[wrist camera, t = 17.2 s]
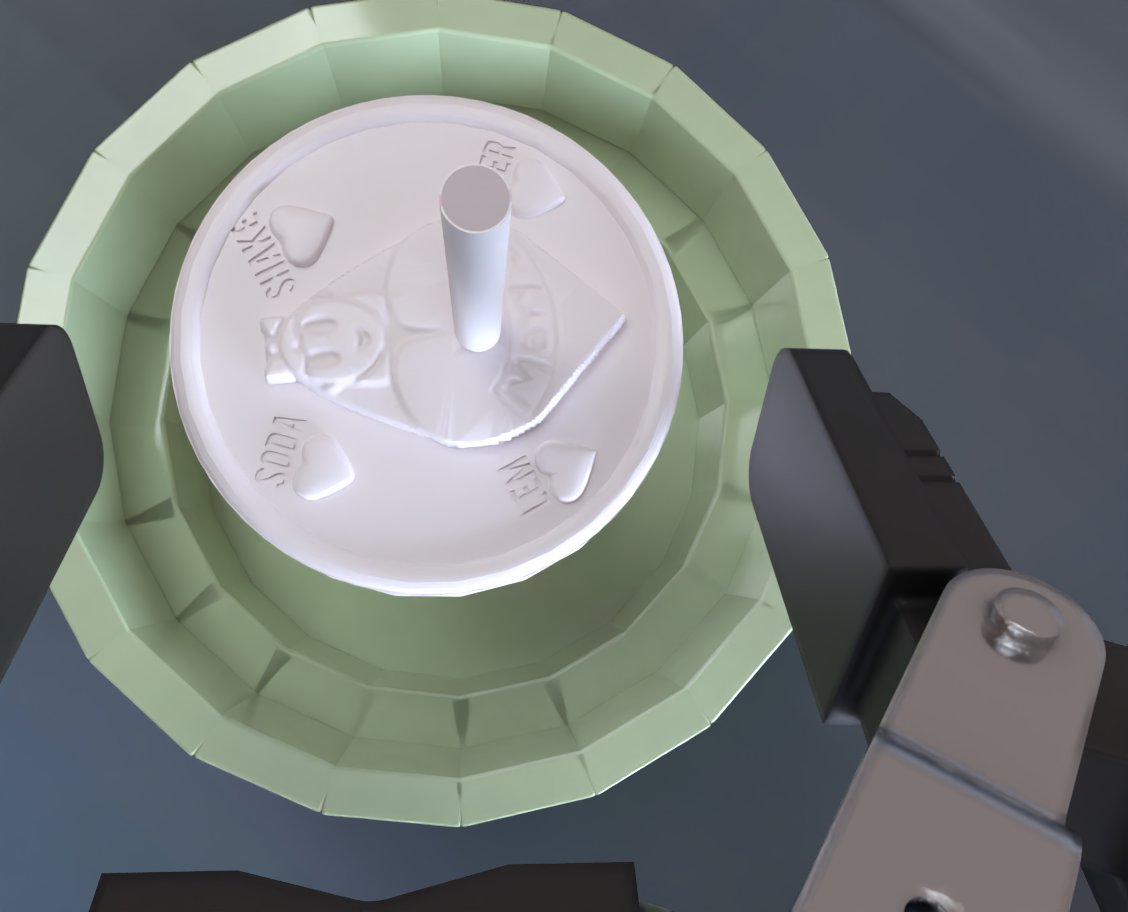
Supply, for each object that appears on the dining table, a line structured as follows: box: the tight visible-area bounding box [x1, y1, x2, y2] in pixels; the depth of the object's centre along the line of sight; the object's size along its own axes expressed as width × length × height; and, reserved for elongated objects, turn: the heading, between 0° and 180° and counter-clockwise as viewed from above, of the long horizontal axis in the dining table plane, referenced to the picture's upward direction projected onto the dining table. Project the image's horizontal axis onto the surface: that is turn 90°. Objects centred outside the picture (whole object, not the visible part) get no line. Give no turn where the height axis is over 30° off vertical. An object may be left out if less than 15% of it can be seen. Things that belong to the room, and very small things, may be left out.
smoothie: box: [169, 95, 683, 597], centre depth 14 cm, size 6×6×14 cm
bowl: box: [17, 0, 851, 827], centre depth 19 cm, size 15×15×6 cm
